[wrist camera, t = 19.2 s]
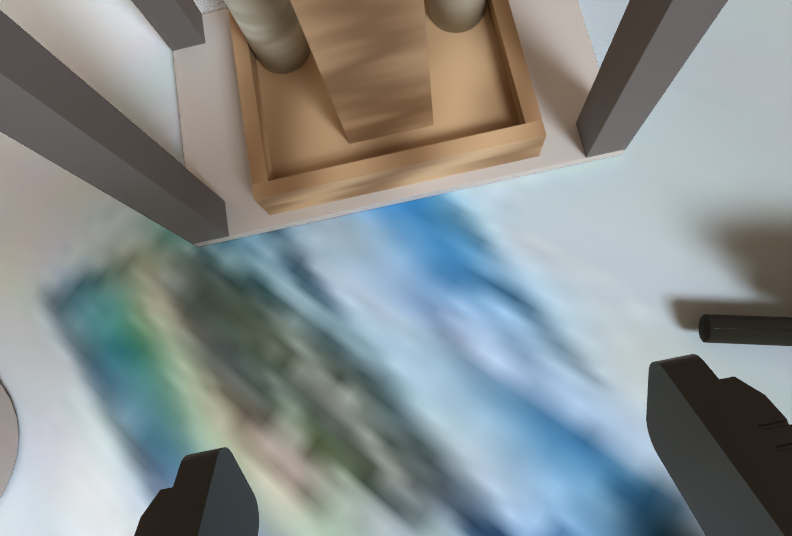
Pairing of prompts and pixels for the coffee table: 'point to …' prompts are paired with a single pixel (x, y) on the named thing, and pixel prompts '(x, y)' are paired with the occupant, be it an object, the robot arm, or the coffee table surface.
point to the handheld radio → (746, 330)
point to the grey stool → (224, 128)
